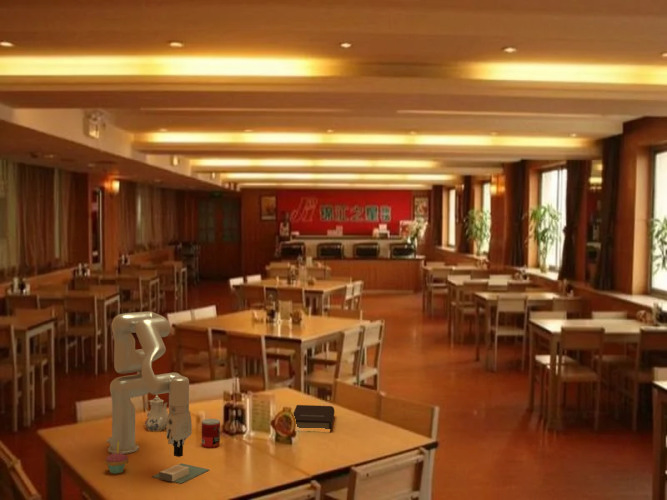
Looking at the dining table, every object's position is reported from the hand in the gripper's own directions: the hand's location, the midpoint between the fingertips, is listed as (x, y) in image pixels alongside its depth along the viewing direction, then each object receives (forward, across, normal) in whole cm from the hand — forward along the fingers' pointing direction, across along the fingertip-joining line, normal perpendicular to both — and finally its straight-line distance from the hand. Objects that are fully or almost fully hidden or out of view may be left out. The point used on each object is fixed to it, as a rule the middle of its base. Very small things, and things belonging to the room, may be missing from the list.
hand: (178, 455), depth 273 cm
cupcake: (+8, -9, +23) cm, 26 cm away
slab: (+6, +2, 0) cm, 6 cm away
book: (+8, +90, -10) cm, 91 cm away
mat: (+8, +2, 0) cm, 8 cm away
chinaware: (+8, +46, +49) cm, 68 cm away
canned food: (+8, +36, +12) cm, 39 cm away
